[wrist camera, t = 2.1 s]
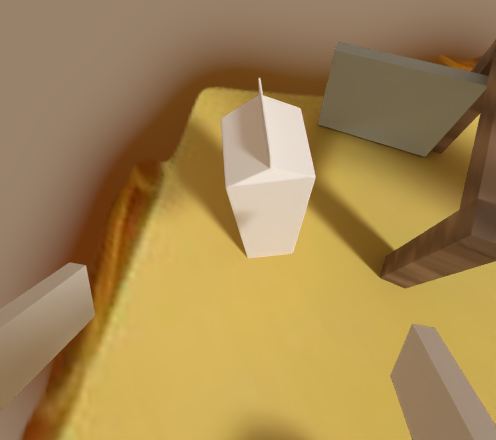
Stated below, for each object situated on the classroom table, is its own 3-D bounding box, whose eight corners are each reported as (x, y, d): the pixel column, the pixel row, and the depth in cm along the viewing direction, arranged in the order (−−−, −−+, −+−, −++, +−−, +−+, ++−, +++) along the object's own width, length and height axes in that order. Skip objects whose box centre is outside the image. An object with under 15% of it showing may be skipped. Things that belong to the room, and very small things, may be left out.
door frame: (424, 131, 40) (513, 16, 25) (445, 137, 39) (550, 22, 25) (379, 277, 33) (470, 235, 18) (405, 288, 32) (521, 253, 17)
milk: (286, 212, 37) (309, 67, 17) (293, 254, 35) (329, 146, 14) (242, 217, 37) (212, 79, 17) (246, 259, 35) (216, 159, 14)
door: (429, 140, 39) (493, 65, 28) (425, 157, 38) (488, 86, 27) (324, 109, 43) (343, 32, 32) (317, 124, 42) (334, 50, 31)
